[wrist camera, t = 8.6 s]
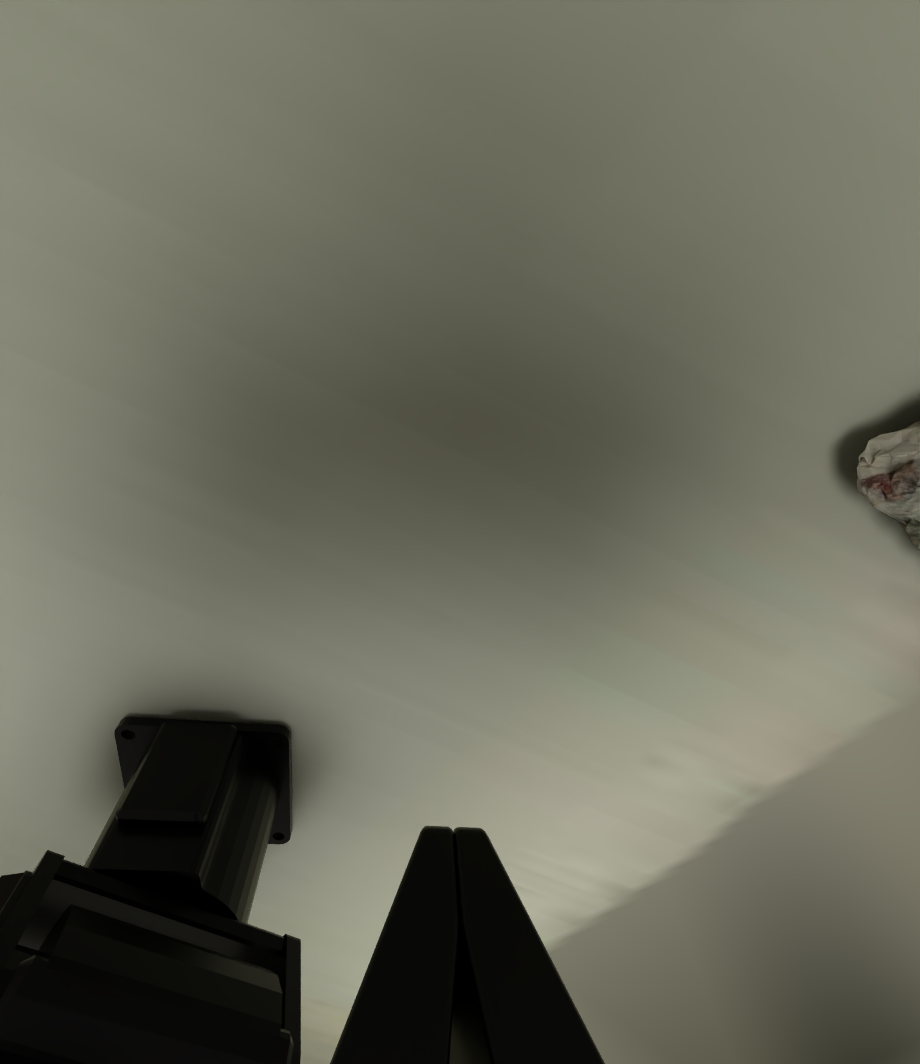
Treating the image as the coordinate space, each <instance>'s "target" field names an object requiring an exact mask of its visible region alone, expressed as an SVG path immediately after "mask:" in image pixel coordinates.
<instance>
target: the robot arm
mask: <svg viewBox="0 0 920 1064" xmlns="http://www.w3.org/2000/svg"><path fill="white" fill-rule="evenodd" d="M129 730H131V731H129ZM132 731H133V732H132ZM274 737H278V738H280V739H276V738H274ZM115 739H116V744H117V750H118V755H119V761H120V766H121V771H122V777H123V782H124V788H125V790H124V792H123V793H122V795H121V797H120V799H119V801H118V803H117V805H116V807H115V808H114V810H113V812H112V814H111V816H110V818H109V820H108V822H107V824H106V825H105V827H104V829H103V831H102V833H101V835H100V837H99V839H98V841H97V842H96V844H95V846H94V848H93V850H92V852H91V854H90V856H89V857H88V859H87V861H86V863H85V865H84V866H81V865H78V864H75V863H72V862H69V861H67V860H64V857H65V856H63V855H60V854H57V853H54V852H52V851H49V850H47V851H46V853H45V854H44V856H43V858H42V859H41V861H40V862H39V864H38V865H37V867H36V868H35V870H34V871H33V873H32V872H29V871H25V872H24V873H18V874H11V875H4V876H1V877H0V1064H300V1056H301V941H300V939H298V938H295V937H293V936H290V935H287V934H285V935H284V936H280V935H277V934H275V933H272V932H269V931H266V930H263V929H260V928H257V927H255V926H252V925H249V924H247V922H248V918H249V914H250V911H251V907H252V903H253V899H254V895H255V891H256V887H257V883H258V879H259V876H260V872H261V868H262V864H263V860H264V856H265V852H266V848H267V845H268V844H284V843H286V842H288V841H289V840H290V837H291V832H292V762H291V733H290V731H289V729H288V728H286V727H284V726H281V725H272V724H253V723H234V722H215V721H196V720H177V719H158V718H139V717H127V718H124V719H122V720H121V721H120V723H119V724H118V726H117V728H116V729H115ZM330 1064H605V1063H604V1061H603V1059H602V1057H601V1055H600V1053H599V1051H598V1049H597V1047H596V1045H595V1044H594V1042H593V1040H592V1038H591V1036H590V1034H589V1032H588V1030H587V1028H586V1026H585V1024H584V1022H583V1020H582V1018H581V1016H580V1014H579V1012H578V1011H577V1008H576V1007H575V1005H574V1003H573V1001H572V999H571V997H570V995H569V993H568V991H567V989H566V987H565V985H564V983H563V981H562V979H561V977H560V975H559V973H558V972H557V970H556V968H555V966H554V964H553V962H552V960H551V958H550V956H549V954H548V952H547V950H546V948H545V946H544V944H543V942H542V940H541V938H540V937H539V935H538V933H537V931H536V929H535V927H534V925H533V923H532V921H531V919H530V917H529V915H528V913H527V911H526V909H525V907H524V905H523V903H522V902H521V900H520V898H519V896H518V894H517V892H516V890H515V888H514V886H513V884H512V882H511V880H510V878H509V876H508V874H507V872H506V870H505V868H504V867H503V865H502V863H501V861H500V859H499V857H498V855H497V853H496V851H495V849H494V847H493V845H492V843H491V841H490V839H489V837H488V836H487V834H486V833H485V831H484V830H483V829H481V828H468V827H457V828H455V829H454V831H452V829H451V828H449V827H442V826H425V827H424V828H423V829H422V830H421V832H420V835H419V837H418V840H417V842H416V845H415V848H414V850H413V853H412V855H411V858H410V860H409V863H408V866H407V868H406V871H405V873H404V876H403V878H402V881H401V883H400V886H399V889H398V891H397V894H396V896H395V899H394V901H393V904H392V907H391V909H390V912H389V914H388V917H387V919H386V922H385V924H384V927H383V930H382V932H381V935H380V937H379V940H378V942H377V945H376V948H375V950H374V953H373V955H372V958H371V960H370V963H369V965H368V968H367V971H366V973H365V976H364V978H363V981H362V983H361V986H360V989H359V991H358V994H357V996H356V999H355V1001H354V1004H353V1006H352V1009H351V1012H350V1014H349V1017H348V1019H347V1022H346V1024H345V1027H344V1030H343V1032H342V1035H341V1037H340V1040H339V1042H338V1045H337V1047H336V1050H335V1053H334V1055H333V1058H332V1060H331V1063H330Z"/></svg>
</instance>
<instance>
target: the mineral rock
mask: <svg viewBox="0 0 920 1064" xmlns="http://www.w3.org/2000/svg"><path fill="white" fill-rule="evenodd" d="M857 475H858V479H857V487H858V492H860V493H862V494H863V496H864V497H865V498H867V499H868V500H869V501H870V502H871V504H872V506H873V507H874V508H876V509H878V510H880V511H881V512H883V513H885V514H886V515H888V516H890V517H892V518H894V519H896V520H898V521H899V523H900V524H901V525H902V526H903V528H904V529H905V530H906V532H907V534H908V535H909V537H910V539H911V541H912V544H914V545H915V546H916V547H917V548H918V549H919V550H920V421H919V422H914V423H912V424H911V425H910V426H909V427H907V428H904V429H901V430H899V431H897V432H891V433H886V434H881V435H879V436H877V437H874V438H872V439H871V440H869V441H868V444H867V447H866V449H865V451H864V452H863V453H862V454H861V455H860V456H859V463H858V467H857Z"/></svg>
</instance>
